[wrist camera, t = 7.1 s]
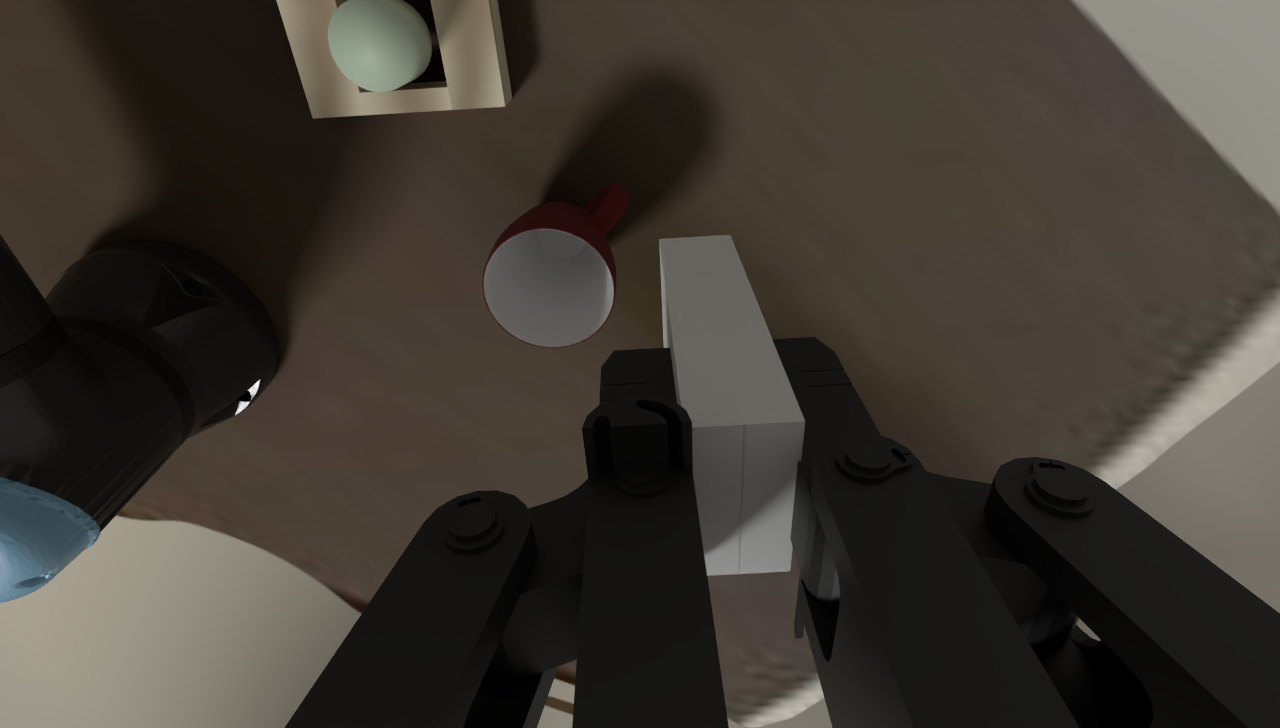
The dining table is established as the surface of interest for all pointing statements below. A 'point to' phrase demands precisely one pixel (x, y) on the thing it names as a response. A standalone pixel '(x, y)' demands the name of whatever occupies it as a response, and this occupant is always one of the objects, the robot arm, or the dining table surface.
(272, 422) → the dining table surface
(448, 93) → the button board
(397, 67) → the button sage
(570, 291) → the mug
